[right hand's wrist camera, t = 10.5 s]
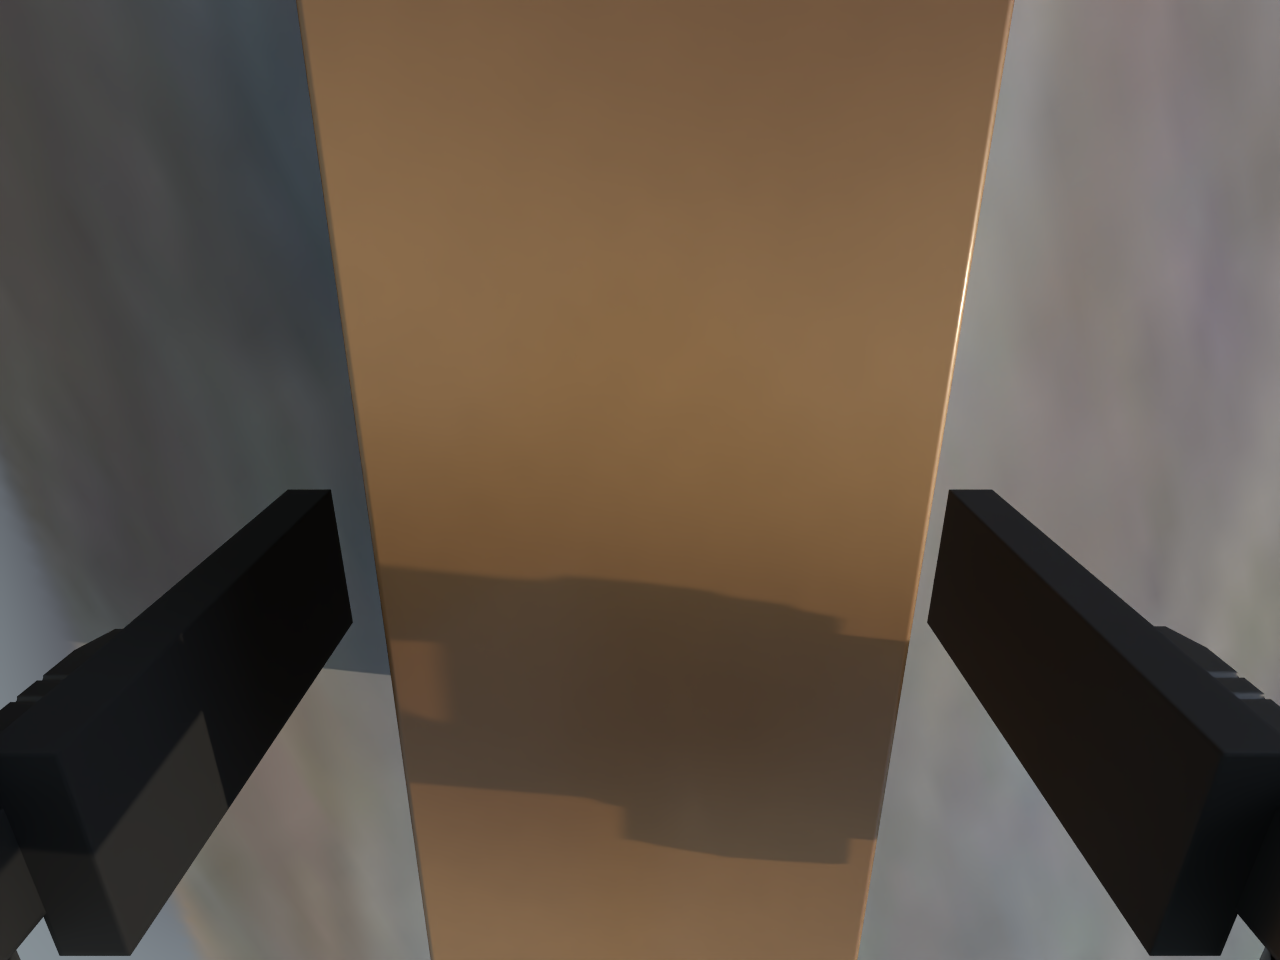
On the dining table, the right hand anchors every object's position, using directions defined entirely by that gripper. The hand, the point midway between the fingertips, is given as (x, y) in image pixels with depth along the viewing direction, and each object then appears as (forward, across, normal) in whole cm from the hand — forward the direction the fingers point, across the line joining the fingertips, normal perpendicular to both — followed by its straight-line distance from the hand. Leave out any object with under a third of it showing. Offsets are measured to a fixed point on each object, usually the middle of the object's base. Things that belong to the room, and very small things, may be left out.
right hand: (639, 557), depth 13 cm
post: (+3, 0, -21) cm, 21 cm away
